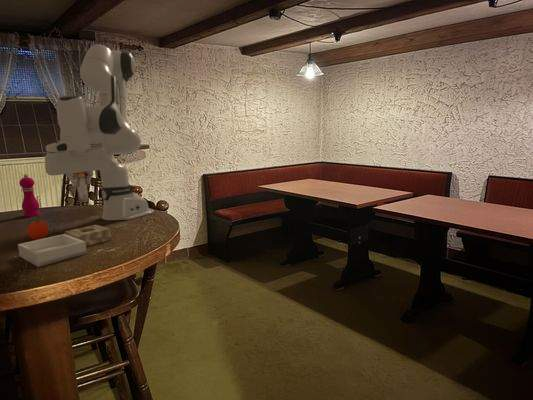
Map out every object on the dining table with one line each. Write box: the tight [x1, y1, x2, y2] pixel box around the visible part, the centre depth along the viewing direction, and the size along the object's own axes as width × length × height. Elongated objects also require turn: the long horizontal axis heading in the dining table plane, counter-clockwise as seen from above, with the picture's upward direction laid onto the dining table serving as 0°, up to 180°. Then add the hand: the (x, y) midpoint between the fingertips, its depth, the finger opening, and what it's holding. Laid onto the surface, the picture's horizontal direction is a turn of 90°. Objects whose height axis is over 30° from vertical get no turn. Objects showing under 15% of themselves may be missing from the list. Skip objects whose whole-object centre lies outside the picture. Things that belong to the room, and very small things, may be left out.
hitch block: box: [64, 224, 112, 247], centre depth 134 cm, size 11×11×4 cm
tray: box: [17, 233, 88, 268], centre depth 119 cm, size 14×16×4 cm
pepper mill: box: [18, 173, 40, 218], centre depth 180 cm, size 7×7×20 cm
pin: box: [74, 172, 90, 203], centre depth 131 cm, size 3×3×10 cm
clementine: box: [26, 220, 50, 241], centre depth 138 cm, size 8×7×7 cm
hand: (81, 185), depth 131 cm, fingers closed on pin, 3 cm apart
